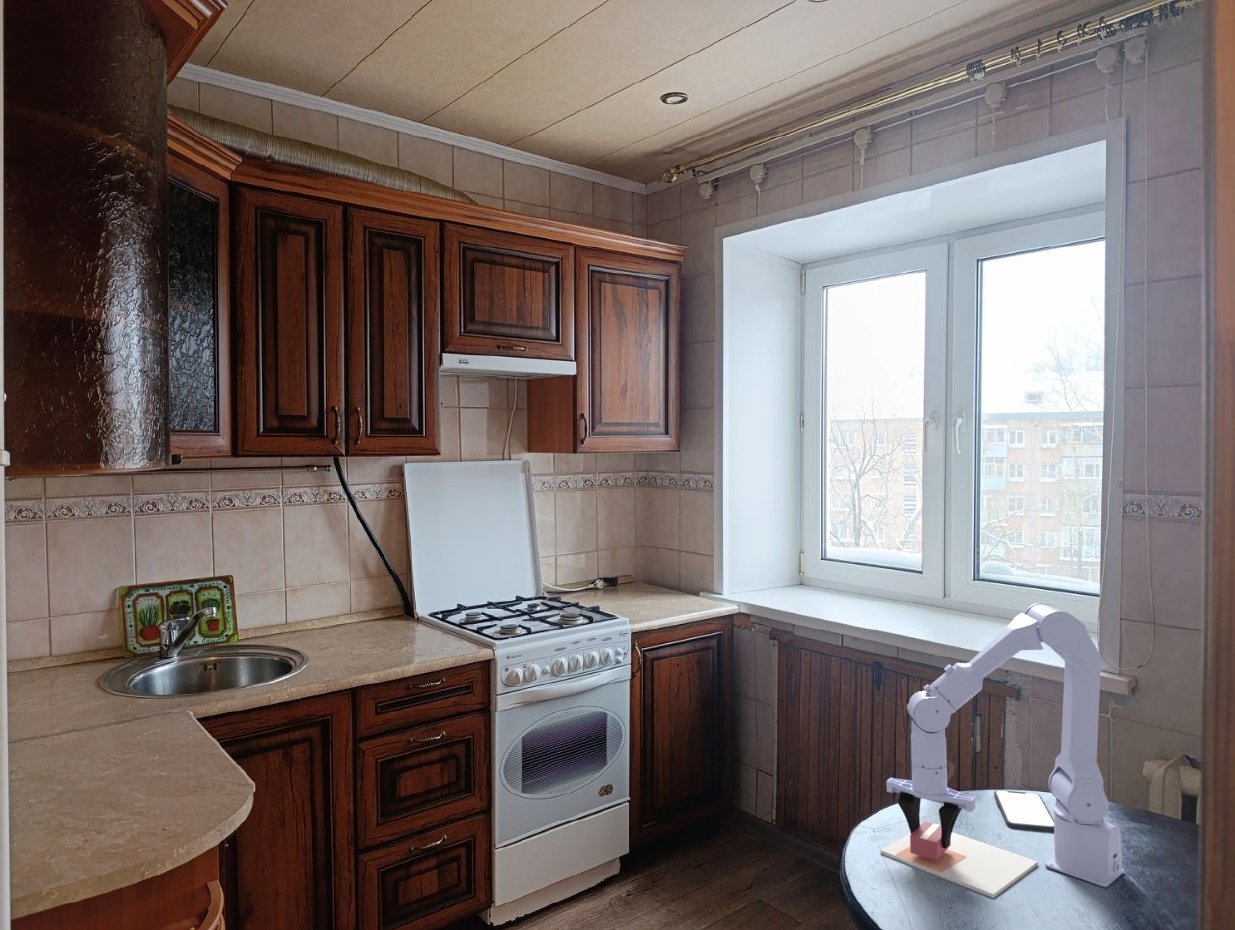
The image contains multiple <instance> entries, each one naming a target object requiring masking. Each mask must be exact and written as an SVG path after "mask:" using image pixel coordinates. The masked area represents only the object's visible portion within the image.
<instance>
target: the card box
mask: <svg viewBox="0 0 1235 930" xmlns="http://www.w3.org/2000/svg"><path fill="white" fill-rule="evenodd" d="M950 845H951V839H950ZM950 845H949V846H948V847H947V848H946V849H945V848H942V843H941V824H937V823H933V822H928V821H923V822H922V823H920V826H919V827H918V828H917V829H916V830H915V831H914V832H913V833H912V834H911V835H910V853H913V854H916V855H920V856H923V857H927V858H930V859H934V860H938V859H939V858H940V857H941V856H942V855H943V853H944V852H945V851H946V850H947V849H948V848H949V847H950Z"/></svg>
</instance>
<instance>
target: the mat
mask: <svg viewBox="0 0 1235 930" xmlns="http://www.w3.org/2000/svg"><path fill="white" fill-rule="evenodd" d="M910 835H911V832H910V833H909V834H906V835H905V836H903V837H901V838H900V839H898V840H896V841H894V842H892V843H890V844H889V845H887V846H884V847H883V848H881V849H880V854H881V855H884V856H887V857H889V858H892V859H893V860H897V861H899V862H901V863H903V864H906V865H909V866H912V867H914V868H916V869H919V870H921V871H924V872H927V873H929V874H932V875H935V876H937V877H939V878H942V879H944V880H947V881H949V882H952V883H954V884H957V885H959V886H962V887H964V888H967V889H970V890H973V891H975V892H978V893H979V894H983V895H984V896H988V897H989V898H992V899H994V898H995V897H997V896H999V894H1001V893H1003V892H1004V891H1005V890H1006V889H1008V888H1009V887H1011V886H1012V885H1013V884H1015V883H1017V881H1019V880H1020V879H1021V878H1023V877H1024V876H1025V875H1027V874H1028V873H1029V872H1031V871H1032V870H1034V869H1035V868H1037V867H1038V866H1039V862H1038V861H1037V860H1034V859H1031V858H1029V857H1026V856H1023V855H1020V854H1018V853H1015V852H1011V851H1009V850H1005V849H1002V848H999V847H997V846H993V845H991V844H987V843H985V842H982V841H979V840H976V839H973V838H971V837H967V836H965V835H962V834H959V833H956V832H953V831H952V834H951V845H950V847H949V848H948V849H947V850H946V851H945V852H944V853H943V855H942V856H941V857H940V858H939V859H938V860H934V859H930V858H927V857H923V856H920V855H916V854H913V853H910Z"/></svg>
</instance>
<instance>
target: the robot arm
mask: <svg viewBox="0 0 1235 930" xmlns="http://www.w3.org/2000/svg"><path fill="white" fill-rule="evenodd" d="M1042 643H1044V644H1045V645H1047V646H1048V647H1049V648H1051V650H1053V651H1054V653H1055V654H1057V655H1058V656H1059V657H1060V658H1061V659H1062V660H1063V661H1064V678H1063V698H1062V699H1063V700H1062V717H1061V718H1062V719H1061V723H1062V724H1061V726H1062V727H1061V741H1060V742H1061V744H1060V745H1061V746H1060V747H1061V748H1060V753H1059V754H1058V755H1057V756H1056V757H1055V759H1054V760H1055V761H1054V762H1055V763H1054V768H1053V770H1052V771H1051V774H1049V777H1048V783H1047V784H1048V788H1049V791H1050V793H1051V795H1052V796H1053V797H1054V798H1055V803H1054V806H1053V819H1054V832H1053V833H1054V836H1053V837H1054V838H1053V839H1054V841H1053V842H1054V856H1053V857H1052V858H1051V859H1049V860H1048V861H1046V862H1045V864H1044V866H1045V867H1046V868H1048V869H1051V870H1054V871H1057V872H1060V873H1062V874H1065V875H1069V876H1072V877H1075V878H1078V879H1081V880H1083V881H1086V882H1088V883H1092V884H1095V885H1097V886H1100V887H1102V888H1107V887H1109V886H1110V885H1111V884H1112V883H1113V882H1114V881H1116V879H1118V878H1119V877H1120V876H1122V874H1124V872H1125V870H1124V868H1123V853H1122V852H1123V851H1122V850H1123V849H1122V834H1121V829H1120V827H1119V826H1117V825H1115V824H1112V823H1110V822H1108V821H1107V820H1106V819H1105V817H1106V816H1107V815H1108V812H1109V808H1110V804H1109V800H1108V797H1107V796H1106V793H1105V790H1104V789H1105V788H1104V778H1103V775H1102V773H1101V770H1100V768H1099V765H1098V760H1097V759H1098V758H1097V757H1098V738H1099V736H1098V735H1099V716H1100V715H1099V711H1100V693H1101V692H1100V691H1101V667H1102V664H1101V663H1102V656H1101V653H1100V651H1099V650H1098V648H1097V647H1096V644H1095V642H1093V639H1092V638H1091V637H1090V634H1089V633H1088V631H1087V626H1086V624H1084V623H1083V622H1081V621H1080V620H1079V619H1078V618H1077V617H1075V616H1074V615H1072V614H1071V613H1069V612H1068V611H1062V610H1061V609H1058V608H1057V607H1055V606H1053V605H1051V604H1049V603H1047V602H1036V603H1034V604H1033V603H1032V604H1031V605H1030V606H1028V608H1026V610H1024V612H1021V613H1019V614H1017V615H1016V616H1014V618H1013V619H1012V620H1011V621H1010V623H1009V624H1008V625H1007V626H1005V628H1004V629H1003V630H1001V632H1000V633H998V634H997V635H996V637H994V638H993V639H992V640H991V641H990V642H989V643H988V644H987V645H986V646H985V647H983V649H981V651H979V652H977V654H976V655H975V656H974V657H973V658H972V659H970V661H969V662H956V663H955V664H953V666H952V665H951V664H947V665H946V666H945V667H943V670H944V671H945V672H944V673H943V674H942V675H941V676H939V677H938V678H937V679H936V680H934V681H933V682H932V683H931V684H926V685H924V686H923V689H924V690H922V691H916V692H915V693H913V695H911V697H910V698H909V702H908V704H906V710H907V712H908V714H909V716H910V717H911V727H910V728H911V729H910V730H911V734H910V751H911V754H910V755H911V757H910V759H911V780H909V779H901V778H894V777H889V778H888V779H887V780H886V792H888V793H892V794H893V793H897V794H899V798H898V799H897V804H898V806H899V807H900V809H901V811H902V812H903V815H904V816H905V819H906V822H907V825H908V828H909V829H908V830H909V832H910V833H911V834H912V833H913V832H914V831H915V830H916V829H917V828H918V827H919V826H920V825H921V821H920V820H921V819H920V811H921V800H922V799H923V800H927V801H932V802H933V803H940V804H943V805H942V806H941V807H940V808H938V814H939V820H940V825H941V843H942V848H945V849H946V848H947V847H948V846H949V845H950V839H951V834H952V832H953V831H954V830H953V829H954V826H955V823H956V821H957V818H958V817H959V815H960V813H961V811H962V809H964V810H965V812H966V811H967V812H970V813H972V812H973V811H975V809H976V797H975V796H971V795H968V794H965V793H962V792H960V791H957V790H954V789H952V788H950V787H948V768H947V767H948V765H947V763H948V762H947V737H946V729H947V728H948V727H949V724H950V723H951V722H950V721H951V716H952V714H954V713H956V712H957V711H958V710H959V709H960V708H962V706H964V705H965V704H966V703H968V701H970V700H972V698H974V697H975V696H976V695H977V694H978V693H980V692H981V691H982V690H983V681H984V679H985V678H986V677H987V676H988V675H990V674H991V673H993V672H994V671H995V670H996V669H997V668H999V667H1000V666H1002V665H1003V664H1005V663H1006V662H1007V661H1008V660H1011V658H1012V657H1014V656H1015V655H1016V654H1018V653H1019V652H1021V651H1038V650H1039V651H1042V650H1044V647H1043V644H1042Z"/></svg>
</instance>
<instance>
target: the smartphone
mask: <svg viewBox="0 0 1235 930" xmlns="http://www.w3.org/2000/svg"><path fill="white" fill-rule="evenodd" d="M993 795H994V800H995V802H996V805H997V807H998V809H999V811H1000V814H1001V815H1002V818H1003V820H1004V822H1005V825H1006V826H1007V827H1008V828H1010V829H1013V830H1025V831H1034V832H1045V833H1054V817H1053V816H1052V814H1051V813H1050V811H1049V808H1048V807H1047V804H1046V803H1045V801H1044V800H1043V798H1042V796H1041V795H1040V794H1038V793H1035V792H1027V791H1026V792H1023V791H1015V790H1014V791H1013V790H1001V789H998V790H995V791H994V793H993Z"/></svg>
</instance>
